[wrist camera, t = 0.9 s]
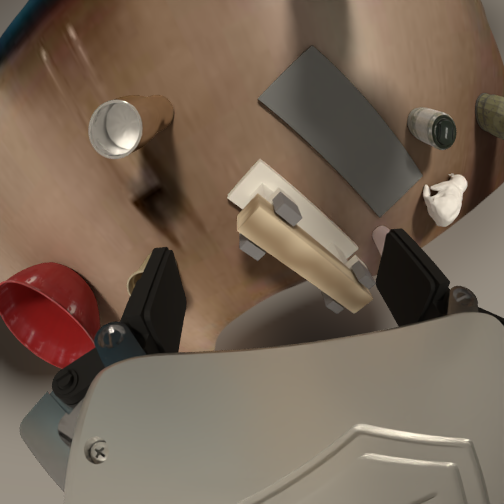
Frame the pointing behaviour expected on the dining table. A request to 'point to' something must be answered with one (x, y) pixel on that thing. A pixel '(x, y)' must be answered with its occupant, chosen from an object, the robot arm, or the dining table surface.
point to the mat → (343, 129)
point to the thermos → (490, 114)
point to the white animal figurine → (445, 199)
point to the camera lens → (432, 127)
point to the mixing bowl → (51, 312)
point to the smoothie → (380, 237)
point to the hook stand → (297, 221)
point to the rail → (301, 253)
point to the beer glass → (128, 124)
